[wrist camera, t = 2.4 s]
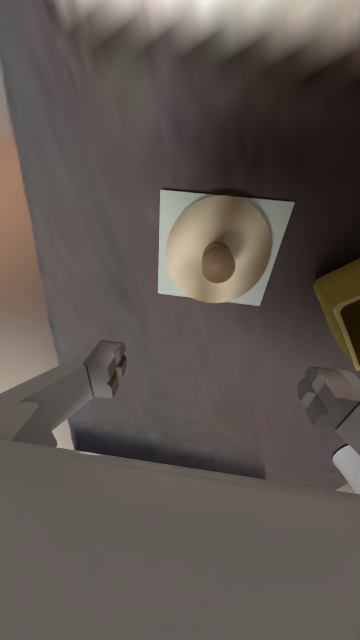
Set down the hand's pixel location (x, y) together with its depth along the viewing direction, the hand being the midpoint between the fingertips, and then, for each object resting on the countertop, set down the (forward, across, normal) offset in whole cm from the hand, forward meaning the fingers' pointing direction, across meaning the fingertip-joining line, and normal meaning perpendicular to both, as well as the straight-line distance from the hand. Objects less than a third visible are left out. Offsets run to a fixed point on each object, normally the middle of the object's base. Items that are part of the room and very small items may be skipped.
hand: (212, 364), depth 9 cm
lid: (+18, -1, -1) cm, 18 cm away
